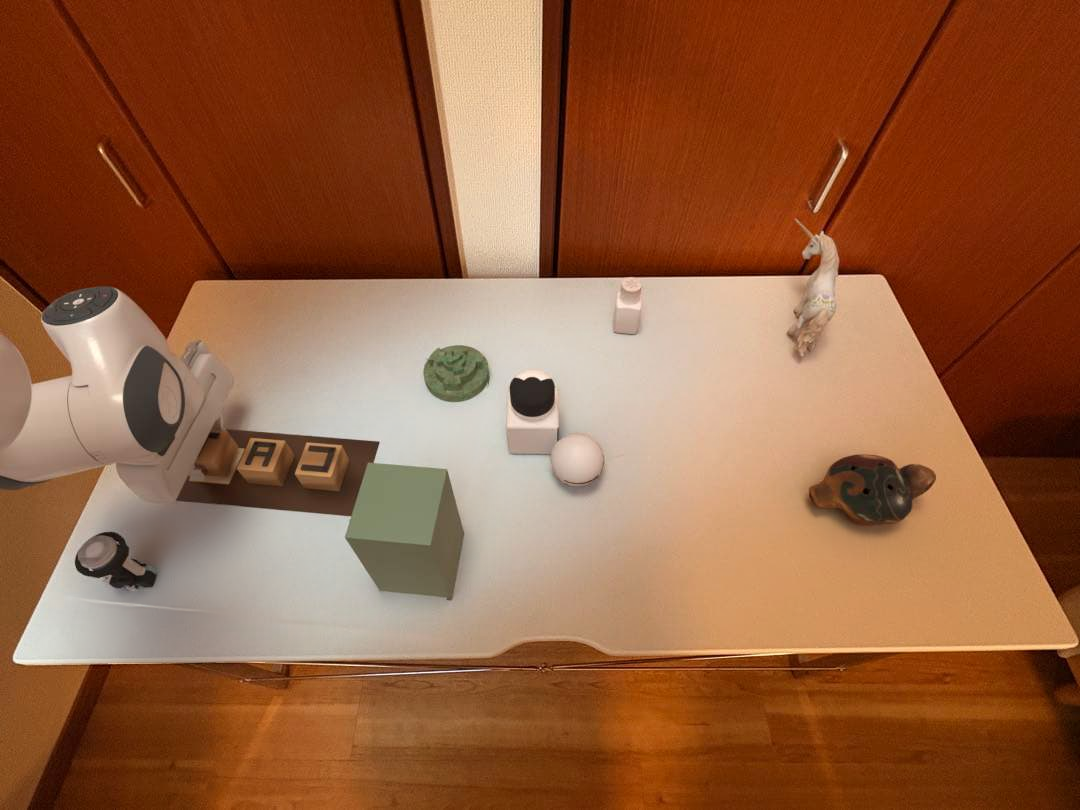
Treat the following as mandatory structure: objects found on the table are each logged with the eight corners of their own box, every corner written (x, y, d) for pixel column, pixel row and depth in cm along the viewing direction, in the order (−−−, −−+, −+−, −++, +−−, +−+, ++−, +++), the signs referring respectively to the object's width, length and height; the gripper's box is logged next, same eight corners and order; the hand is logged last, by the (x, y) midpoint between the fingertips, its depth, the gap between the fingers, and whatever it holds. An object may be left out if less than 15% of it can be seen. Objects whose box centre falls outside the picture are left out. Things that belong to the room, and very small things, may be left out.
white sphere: (548, 494, 85) (548, 467, 79) (552, 449, 89) (552, 420, 83) (620, 500, 84) (626, 473, 78) (621, 454, 88) (626, 425, 82)
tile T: (224, 477, 84) (210, 461, 81) (190, 474, 85) (174, 458, 81) (238, 446, 87) (226, 429, 84) (205, 443, 88) (191, 426, 84)
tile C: (339, 491, 84) (330, 475, 81) (304, 488, 85) (293, 472, 81) (349, 460, 87) (341, 443, 84) (315, 457, 87) (305, 441, 84)
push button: (101, 602, 76) (49, 573, 68) (117, 561, 80) (69, 529, 72) (155, 601, 77) (109, 571, 68) (169, 560, 80) (126, 527, 72)
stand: (451, 600, 76) (430, 545, 62) (381, 593, 77) (344, 537, 63) (464, 533, 81) (447, 468, 68) (398, 527, 82) (367, 462, 68)
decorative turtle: (929, 524, 81) (960, 500, 75) (819, 546, 81) (839, 523, 74) (894, 460, 87) (920, 432, 80) (790, 480, 86) (807, 453, 79)
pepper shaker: (614, 316, 104) (619, 274, 97) (637, 318, 104) (645, 276, 96) (612, 333, 102) (617, 291, 94) (636, 336, 102) (644, 294, 94)
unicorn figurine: (811, 281, 109) (840, 218, 98) (837, 366, 97) (873, 305, 87) (770, 280, 109) (794, 218, 98) (791, 364, 98) (822, 304, 87)
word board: (358, 520, 83) (356, 516, 82) (161, 502, 85) (157, 498, 84) (381, 445, 90) (379, 441, 89) (198, 430, 92) (195, 425, 91)
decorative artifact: (497, 395, 95) (480, 349, 100) (493, 366, 89) (476, 319, 95) (433, 412, 93) (420, 364, 99) (426, 384, 87) (412, 335, 93)
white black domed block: (558, 455, 88) (559, 406, 79) (508, 454, 88) (503, 406, 79) (557, 414, 93) (559, 363, 83) (510, 414, 93) (506, 363, 83)
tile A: (283, 486, 85) (271, 470, 81) (248, 483, 85) (235, 467, 82) (295, 455, 88) (284, 439, 84) (261, 452, 88) (249, 436, 85)
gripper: (173, 331, 80) (219, 394, 91) (90, 466, 68) (155, 520, 79) (219, 334, 80) (260, 397, 91) (144, 471, 68) (201, 524, 79)
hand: (210, 456), depth 85 cm, fingers closed on tile T, 5 cm apart
